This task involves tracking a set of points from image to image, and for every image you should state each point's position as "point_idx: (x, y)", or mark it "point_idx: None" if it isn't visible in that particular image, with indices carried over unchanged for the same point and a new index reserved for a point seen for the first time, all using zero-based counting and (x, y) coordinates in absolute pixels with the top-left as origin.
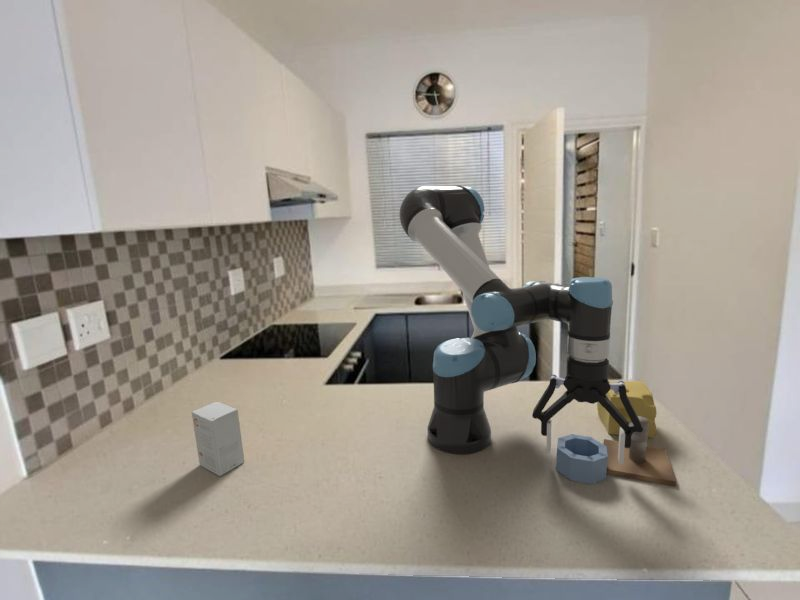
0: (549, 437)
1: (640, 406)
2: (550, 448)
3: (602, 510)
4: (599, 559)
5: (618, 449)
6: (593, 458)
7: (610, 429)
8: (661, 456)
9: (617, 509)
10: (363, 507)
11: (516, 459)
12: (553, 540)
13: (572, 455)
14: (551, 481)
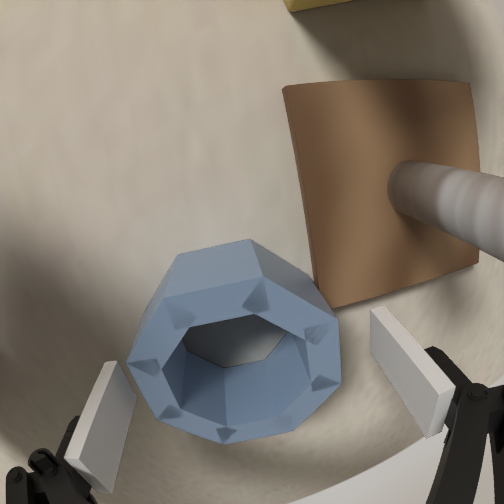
0: (121, 445)
1: None
2: (126, 383)
3: (310, 430)
4: (308, 491)
5: (385, 331)
6: (294, 418)
7: (301, 4)
8: (466, 138)
9: (340, 413)
10: None
11: (58, 363)
12: (242, 498)
13: (222, 435)
14: None
